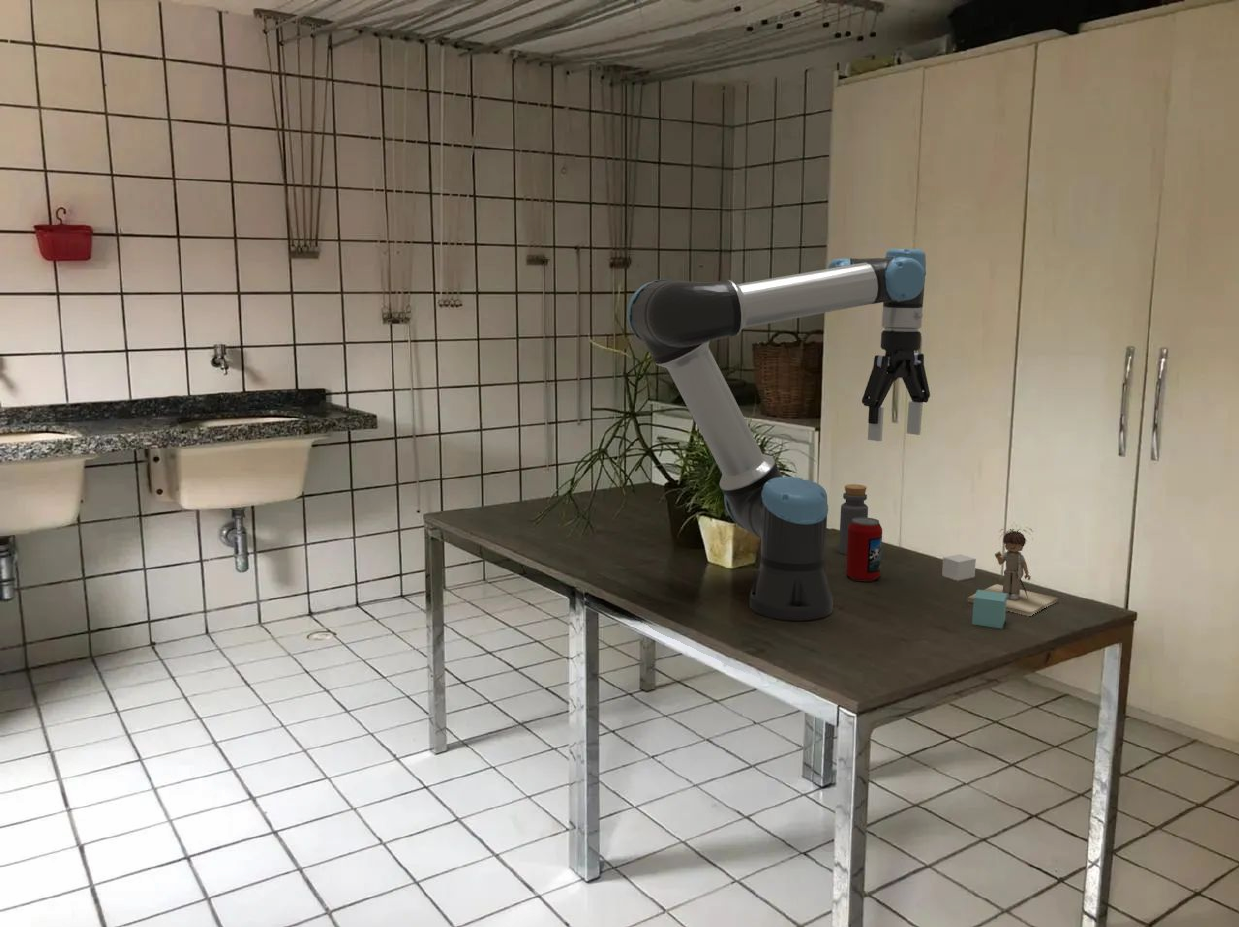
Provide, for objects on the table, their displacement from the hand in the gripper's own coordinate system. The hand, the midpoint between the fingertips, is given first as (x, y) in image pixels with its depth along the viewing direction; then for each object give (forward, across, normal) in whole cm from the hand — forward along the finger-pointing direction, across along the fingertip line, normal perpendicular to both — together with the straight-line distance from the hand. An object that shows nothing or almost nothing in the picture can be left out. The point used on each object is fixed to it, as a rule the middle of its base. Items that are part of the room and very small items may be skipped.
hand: (894, 437), depth 199 cm
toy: (+28, +3, -25) cm, 38 cm away
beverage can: (+29, -4, +2) cm, 29 cm away
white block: (+29, +11, -10) cm, 32 cm away
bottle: (+29, +10, +15) cm, 34 cm away
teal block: (+29, -10, -28) cm, 41 cm away
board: (+29, +4, -25) cm, 38 cm away
